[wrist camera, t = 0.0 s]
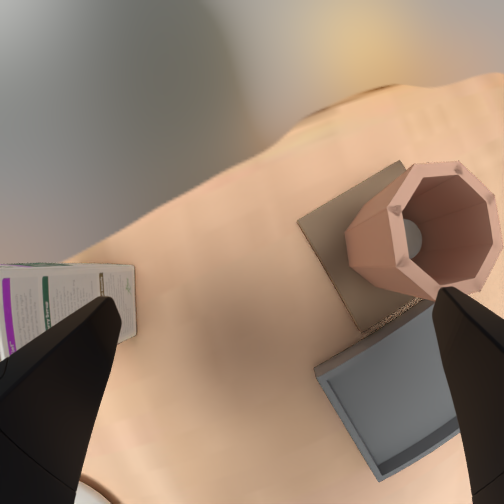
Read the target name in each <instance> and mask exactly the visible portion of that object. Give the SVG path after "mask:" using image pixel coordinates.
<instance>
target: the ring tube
mask: <svg viewBox="0 0 504 504" xmlns="http://www.w3.org/2000/svg"><path fill="white" fill-rule="evenodd" d="M403 219H408V220H410V221H412V222H414V223H415V224H416V225H417V226H418V228H419V229H420V232H421V235H422V246H421V249H420V251H419V252H418V254H417V255H416V256H415V257H413V258H412V259H409V254H408V247H407V240H406V233H405V227H404V221H403ZM344 234H345V240H346V247H347V254H348V261H349V267H351V268H352V269H353V270H355V271H356V272H357V273H358V274H360V275H361V276H362V277H363V278H365V279H366V280H367V281H369V282H370V283H371V284H372V285H374V287H378V288H382V289H386V290H390V291H394V292H398V293H402V294H406V295H410V296H414V297H419V298H423V299H427V300H431V301H435V300H436V297H437V294H438V291H439V289H440V288H441V287H449V286H453V287H455V288H457V289H458V290H460V291H462V292H463V293H465V294H466V295H467V294H471V293H475V292H480V291H481V289H482V287H483V286H484V284H485V282H486V280H487V278H488V276H489V274H490V273H491V271H492V269H493V267H494V265H495V263H496V261H497V259H498V257H499V255H500V253H501V251H502V249H503V247H504V246H503V242H502V235H501V228H500V222H499V216H498V210H497V205H496V200H495V195H494V194H493V193H492V192H491V191H490V190H489V189H488V188H487V187H486V186H485V185H484V184H483V183H482V182H481V181H480V180H479V179H478V178H477V177H476V176H475V175H474V174H473V173H472V172H471V171H470V170H468V169H467V168H466V167H465V166H464V165H463V164H462V163H461V162H460V161H459V160H458V161H450V162H434V163H419V164H416V163H415V164H413V165H412V166H411V167H410V168H408V169H407V170H406V171H405V172H404V173H402V174H401V175H400V176H399V177H398V178H396V179H395V180H394V181H393V182H391V183H390V184H389V185H388V186H387V187H385V188H384V189H383V190H382V191H381V192H379V193H378V194H377V195H376V196H374V197H373V198H372V199H371V200H369V201H368V202H367V203H366V204H365V205H363V206H362V208H361V210H360V211H359V213H358V214H357V215H356V217H355V218H354V220H353V221H352V222H351V224H350V225H349V227H348V228H347V230H346V231H345V232H344Z"/></svg>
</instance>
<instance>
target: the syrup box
mask: <svg viewBox="0 0 504 504" xmlns="http://www.w3.org/2000/svg"><path fill="white" fill-rule="evenodd" d="M98 296H110V297H112V298H113V299H114V301H115V304H116V307H117V309H118V312H119V314H120V316H121V320H122V327H121V331H120V335H119V339H118V343H117V344H119V343H121V342H123V341H125V340H127V339H129V338H132V337H134V336H135V335H136V306H135V274H134V266H133V265H123V264H101V263H21V264H20V263H19V264H0V362H1V361H2V360H4V359H5V358H7V357H9V356H10V355H11V354H13V353H14V352H15V351H17V350H18V349H20V348H21V347H23V346H24V345H26V344H27V343H28V342H30V341H31V340H33V339H34V338H36V337H37V336H39V335H40V334H42V333H43V332H45V331H46V330H48V329H49V328H51V327H52V326H54V325H55V324H57V323H58V322H60V321H61V320H63V319H64V318H66V317H67V316H69V315H70V314H72V313H73V312H75V311H76V310H78V309H79V308H81V307H83V306H84V305H86V304H87V303H89V302H90V301H92V300H93V299H95V298H97V297H98Z"/></svg>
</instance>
